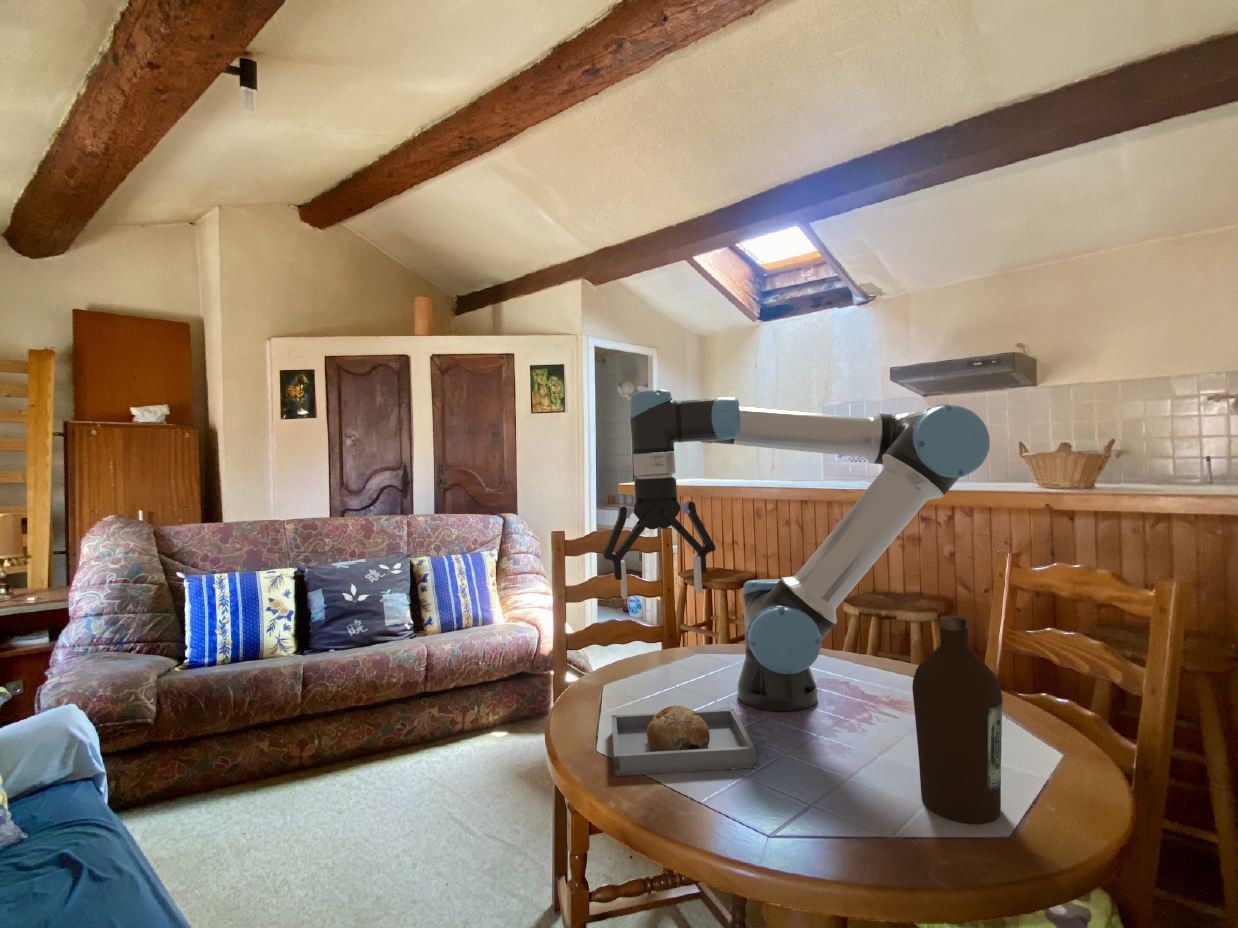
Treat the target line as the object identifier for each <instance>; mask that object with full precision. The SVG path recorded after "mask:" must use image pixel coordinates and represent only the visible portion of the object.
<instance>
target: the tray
mask: <svg viewBox="0 0 1238 928" xmlns="http://www.w3.org/2000/svg"><path fill="white" fill-rule="evenodd" d="M694 711H695V712H696V714H697V715H698V716H700V717H701V718H702V719H703V720H704V721H705V723H706V725H707V726H708V730H709V734H710V740H709V744H708V747H707V748H706V749H694V750H677V751H659V752H654V751H653V749H652V748H651V747H650V745H649V744H648V740H647V734H646V733H647V728H648V725H649V723H650V722H651V721H652V720H653V717H654V715H656V714H657V713H658V712H651V713H635V714H633V713H632V714H617V715H616V714H615V715H613V714H612V715H611V733H612V736H611V737H612V748H613V750H612V752H613V765H614V777H624V776H625V777H626V776H640V775H641V776H642V775H654V774H653V773H662V774H676V773H678V772H679V773H693V772H692V771H696V772H704V771H703V770H713V771H725V769H730V770H738V769H737V768H747V769H755V768H754V767H756V768H757V752H756V751H757V749H756V747H755V745H754V743H753V741H752V739H751V737H750V736H749V734H748V732H747V730H746V728H745V727H744V725H743V723H742V721H741V720H740V718H739V716H738V715H737V712H736V710H735V708H725V709H707V710H704V709H703V710H694ZM733 768H734V769H733ZM735 768H736V769H735ZM700 770H702V771H700ZM673 772H674V773H673Z"/></svg>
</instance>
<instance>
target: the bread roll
mask: <svg viewBox="0 0 1238 928" xmlns="http://www.w3.org/2000/svg"><path fill="white" fill-rule="evenodd" d="M695 711H696V710H693V709H690V708H689V707H686V706H681V705H670V706H667V707H665V708H663V709H661V710H659V712H656V713H657V714H656V715H654V717H653V720H652V721H651V722H650V723H649V725H648V728H647V733H646V734H647V740H648V744H649V745H650V747H651V748H652V749H653V751H654V752H659V751H677V750H694V749H706V748H707V747H708V744H709V740H710V734H709V730H708V726H707V725H706V723H705V721H704V720H703V719H702V718H701V717H700V716H698V715H697V714H696V712H695Z"/></svg>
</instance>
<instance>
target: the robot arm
mask: <svg viewBox="0 0 1238 928" xmlns="http://www.w3.org/2000/svg"><path fill="white" fill-rule="evenodd" d="M629 419H630V431H631V443H632V461H633V475H634V477H636V479H635V480H634V496H635V497H634V498H635V501H634V502H635V504H634V506H624V505H619V507H618V510H617V511H618V512H617V513H618V514H617V519H616V522H615V524H614V527H613V528H612V531H611V534H610V535H609V538H608V540H607V543H606V545H605V547H604V550H603V553H602V556H603V558H604V559H605V560H609V561H612V563H613V575H614V578H615V580H616V581H620V594H621V598H622V600H628V587H627V585H628V584H627V583H628V582H627V569H626V566H627V565H626V561H625V560H624V559H623V558H624V556H625V555H626V554H627V553H628V551H629V550H630V549H631V547H633V545H634V543H635V542H636V541H637V539H638V538H639V537H640V535H641V534H642V533H643V531H645V529H648V530H657V529H663V530H664V529H668V528H669V527H672V529H674V530H675V531H676V532H677V533H678V534H679V535H680V536H681V537H682V539H683V540H684V541H685V542H686V543H687V544H688V545H689V546H690V547H691V548H692V549H693V550H694V551H695V552H696V553H697V554H692V563H693V582H694V583H693V584H694V591H695V592H697V594H703V580H702V579H703V578H702V574H706V573H707V556H708V554H709V553H711V552H715V551H716V549H717V548H716V545H715V544H714V542H713V539H712V538H711V536H710V535H709V533H708V531H707V529H706V528H705V526H704V524H703V522H702V520H701V519H700V517H699V515H698V514H697V507H696V503H695V502H694V501H691V500H688V501H686V502H683V503H679V501H678V490H677V488H678V487H677V479H676V478H675V477H673V475H675V474H676V458H675V447H674V446H675V443H688V442H689V443H690V442H691V443H693V442H701V443H703V444H704V443H705V444H723V445H733V446H734V445H735V446H736V445H737V446H745V447H755V448H766V449H775V450H776V449H777V450H788V451H797V452H808V453H819V454H825V455H826V454H827V455H828V454H829V455H838V456H847V457H859V458H864V459H866V461H868V463H869V464H875V465H883V466H882V467H883V468H882V471H881V472H880V473H879V474H878V475H877V476H876V478H875V479H874V480H872V481H873V482H871V484H870V485H869V486H868V487H867V489H865V491H864V492H863V493H862V495H860V497H859V498H858V499H857V501H856V502H855V503H854V504H853V505H852V506H851V508H850V509H849V510H848V511H847V512H846V514H845V515H844V516H843V517H842V519H841V520H840V521H839V522H838V524H837V525H836V526H835V527H834V528H833V530H832V531H831V532H830V533H829V534H828V536H826V538H825V539H824V540H823V541H822V543H820V545H819V546H818V548H817V549H816V550H815V551H814V553H812V555H811V556H810V557H809V558H808V560H807V561H806V562H805V563H804V565H802V567H801V568H800V569H799V570H798V572H797V573H796V574H795V575H793V576H783V577H781V578H780V579H779V578H778V579H776V578H774V579H772V578H771V579H769V578H768V579H751V580H747V581H746V582H745V583H743V587H742V588H743V590H742V591H743V592H742V594H741V595H742V598H743V617H744V619H743V622H744V641H745V643H744V644H745V645H744V647H745V649H744V650H745V659H744V661H743V665H742V669H741V672H740V676H739V679H738V681H737V694H738V695H737V696H738V698H739V700H740V701H741V702H742V703H744V704H746V705H747V706H751V707H753V708H756V709H760V710H765V711H771V712H772V711H775V712H793V711H800V710H804V709H807V708H810V707H812V706H814V705H815V704H816V703H817V702H818V687H817V683H816V681H815V678H814V676H813V673H812V671H811V666H812V665H813V664H814V663H815V662H816V661H817V659H818V657H819V655H820V653H821V649H822V643H823V640H824V638H825V637H826V636H827V635H828V634H829V632H830V631H831V630H832V629H833V628H834V627H835V625H836V624H837V623H838V620H837V619H838V618H837V612H836V610H837V609H838V607H839V606H840V605H841V604H842V602H843V601H844V600H845V599H846V597H848V595H849V593H851V591H853V589H854V588H855V587H856V586H857V585H858V583H859V582H860V581H861V579H862V578H863V577H864V576H865V575H866V574H867V573H868V572H869V570H870V569H871V568H872V567H873V565H874V564H875V563H876V562H877V561H878V560H879V558H880V557H881V556H882V555H883V553H885V551H886V550H887V549H888V548H889V546H890V545H891V544H892V543H893V542H894V540H895V539H896V538H897V537H898V536H899V534H900V533H902V531H903V530H904V529H905V527H906V526H907V525H908V524H909V523H910V521H911V520H912V519H913V518H914V517H915V515H917V513H918V512H919V511H920V510H921V508H923V506H924V505H925V504H926V502H927V501H930V500H936V499H942V498H944V496H945V495H946V494H947V492H948V491H950V489H951V488H952V487H953V486H954V485H955V484H956V482H957V481H958V480H959V479H960V478H963V477H966V476H968V475H970V474H972V473H973V472H975V471H976V470H978V469H979V468H980V467H981V466H983V464H984V462H985V460H986V459H987V457H988V455H989V452H990V446H991V440H990V433H989V430H988V428H987V426H986V424H985V423H984V421H983V419H982V418H981V417H980V416H979V415H977V413H976V412H975V411H973V410H971V409H969V408H968V407H967V408H966V407H964V406H961V405H954V404H947V403H946V404H937V405H934V406H931V407H929V408H925V409H921V410H916V411H915V410H914V411H911V412H910V411H909V412H905V413H879V412H878V413H877V412H876V413H874V414H872V416H870V417H863V416H862V417H861V416H852V415H851V416H849V415H838V414H827V413H815V412H803V411H791V410H779V409H770V408H769V409H768V408H758V407H757V408H756V407H745V406H743V407H742V406H740V401H739V400H738V398H736V397H735V396H734V397H733V396H732V397H731V396H729V397H726V396H725V397H724V396H717V397H712V398H711V397H710V398H701V399H700V398H699V399H686V400H675V399H674V400H673V397H672V393H671V392H670V390H666V389H656V390H655V389H651V390H642V391H636V392H635V393H633V394H632V395H631V398H630V417H629ZM680 511H683V513H684V514H685V515H687V516H688V519H689V520H690V522H691V524H692V525H693V527H694V529H695V530H696V533H697V535H698V536H699V538H700V540H701V541H702V544H703V545H701V544H700V543H699V542H698V541H697V539H695V537H694V536H693V535H692V534H691V533H690V532H689V531H688V530H687V529H686V528H685V527H684V526H683V525H682V524H681V522H680V521H679V519H677V518H678V517H677V516H678V515H679V513H680ZM632 514H634V515H635V516H636V517H637V519H638V520H637V522H636V523H635V525H634V527H633V528H632V530H631V531H630V532H629V534H628V535H627V536H626V537H625V539H624V540H623V541H622V543H621V544H620V546H619V547H618V548H617V550H616V551H614V550H615V548H616V546H617V543H618V541H619V538H620V536H621V534H622V531H623V529H624V526H625V524H626V521H627V520H628V519H629V518H631V515H632ZM622 559H623V560H622Z"/></svg>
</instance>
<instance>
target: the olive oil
mask: <svg viewBox="0 0 1238 928" xmlns="http://www.w3.org/2000/svg"><path fill="white" fill-rule="evenodd" d="M939 620H940V626H939V638H940V643H939V646H938V647H937V648H936V649H934V650H933V652H931V653H930V654H929V655H928V656H926V658H925V659H923V661H921V662H920V664H919V665H918V666H917V668H916V669H915V672H914V675H913V679H912V685H911V686H912V688H911V689H912V698H913V699H912V700H913V707H914V709H913V710H914V719H915V728H916V729H915V732H916V743H917V753H918V767H919V779H920V780H919V781H920V783H919V784H920V795H921V800H922V802H923V804H924V805H925V806H926V807H927V808H928V809H929V810H930V811H932V812H933V813H935V814H937V815H939V816H941V817H943V818H946V819H949V820H952V821H956V822H960V823H966V824H984V823H985V824H986V823H990V822H994V821H995V820H997V819H998V818H999V817H1000V815H1001V809H1002V804H1001V803H1002V802H1001V801H1002V800H1001V799H1002V798H1001V797H1002V792H1001V791H1002V790H1001V789H1002V788H1001V786H1002V738H1003V737H1002V736H1003V735H1002V734H1003V733H1002V730H1003V728H1002V727H1003V702H1004V701H1003V692H1002V689H1001V686H1000V683H999V681H998V680H999V679H998V678H997V677H996V675H995V673H994V672H993V671H992V669H991V668H990V667H989V666H987V664H986V663H985V662H983V660H982V659H981V658H980V657H979V656H978V655H977V654H976V653H975V652H974V651H973V650H972V649H971V648H970V646H969V629H968V628H967V625H968V619H967V618H966V617H963V616H960V615H942V616H940V617H939Z"/></svg>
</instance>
